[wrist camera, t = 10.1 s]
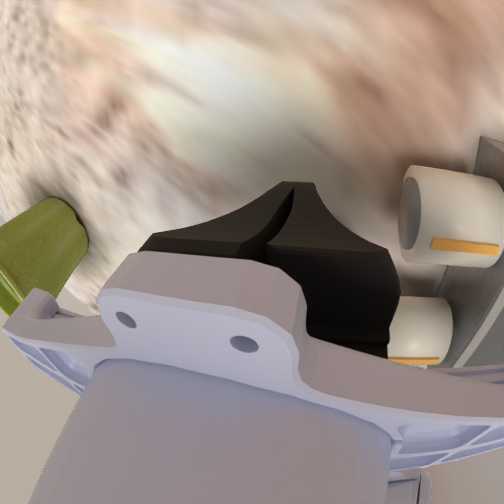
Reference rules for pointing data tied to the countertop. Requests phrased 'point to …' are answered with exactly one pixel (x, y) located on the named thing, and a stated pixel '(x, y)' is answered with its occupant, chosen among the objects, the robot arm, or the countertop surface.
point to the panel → (477, 290)
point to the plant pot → (39, 251)
